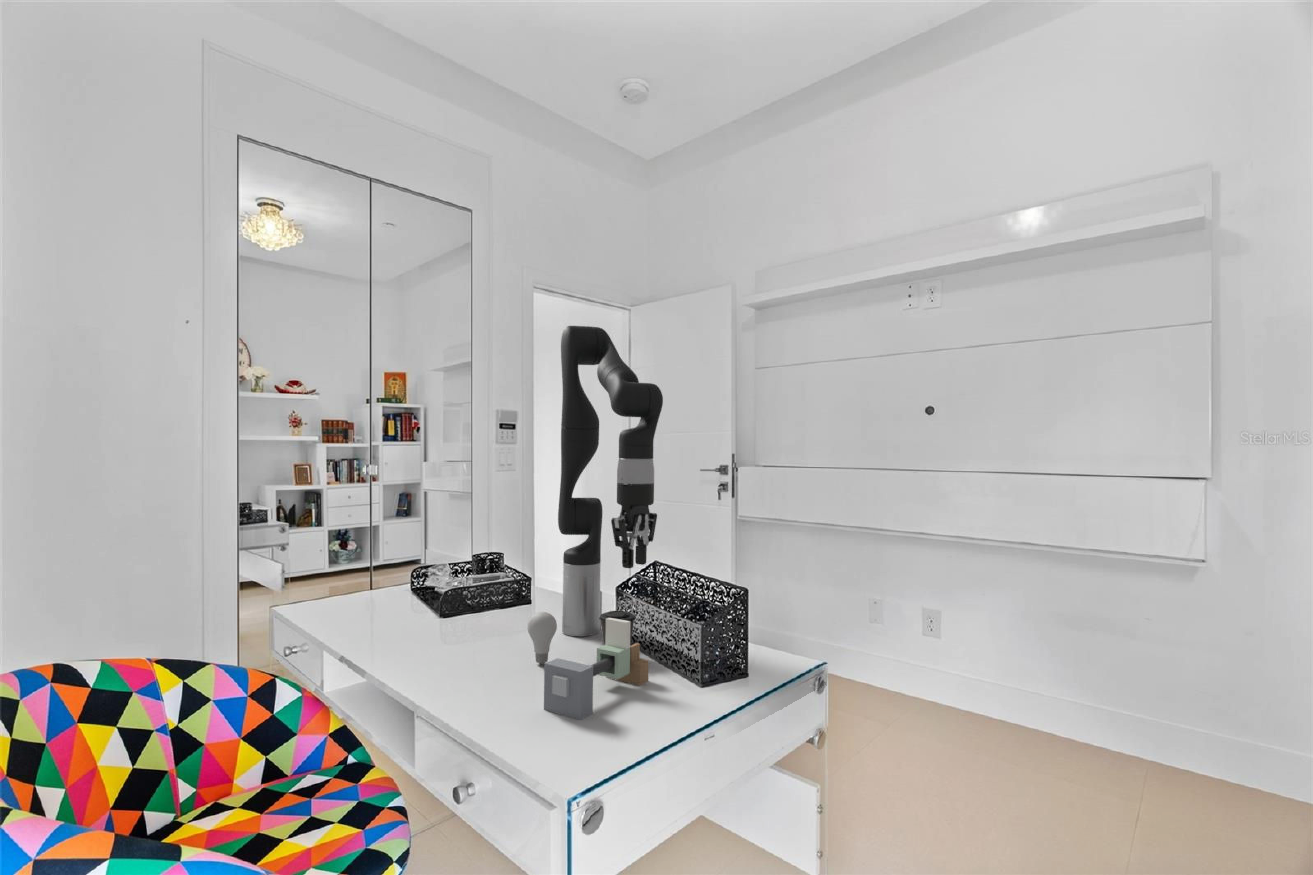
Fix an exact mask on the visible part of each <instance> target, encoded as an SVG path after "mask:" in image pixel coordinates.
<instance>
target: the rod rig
mask: <svg viewBox="0 0 1313 875" xmlns="http://www.w3.org/2000/svg"><path fill="white" fill-rule="evenodd" d="M640 654H641V643H639V642H636V643H634V644H631V646H630V673H629V674H627V675H626V676H624V677H622V678H620V679H616V680H615V679H614V678H612V679H611V678H610V677H606V676H605V678H608V679H611V680H615V681H620V682H623V681H624V683H628V682H629V684H632V683H633V684H632V685H636V686H641V685H644V684H645V682H646V683H647V682H649V669H650V668H649V665H650V664H649V663H650V661H649V659H648V660H647V659H644V658H643V659H642V658H640V656H641V655H640ZM614 666H615V656H610V657H608V658H606V659H603V660H601V661H599V662H597V661H596V662H595V663H592V664H591V665H590V664H589V665H588V664H585V663H580V662H575V661H572V660H567V659H562V658H559V657H558V658H555V659H552V660H550V661H547V662H546V663H544V669H543V670H544V672H543V673H544V674H543V675H544V677H543V679H544V680H543V684H544V686H543V710H544V711H548V712H552V713H556V714H559V715H563V716H566V717H570V718H573V719H576V720H582V719H584V718H585V717H587V716H590V715H591V714H592V713H593V709H594V707H593V704H594V700H593V699H594V677H596V676H599V675H598V674H600V673H602V672H604V671H606V670H608V669H610V668H612V667H614ZM643 683H644V684H643Z"/></svg>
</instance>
